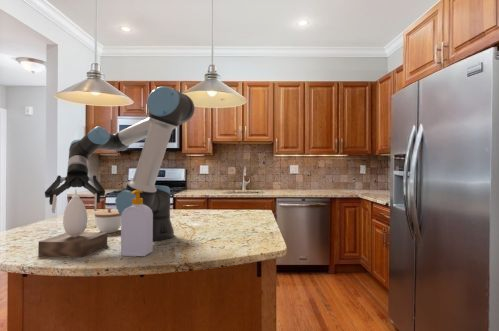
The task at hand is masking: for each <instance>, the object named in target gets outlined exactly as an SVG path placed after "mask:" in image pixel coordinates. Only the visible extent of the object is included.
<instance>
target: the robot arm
mask: <svg viewBox="0 0 499 331" xmlns="http://www.w3.org/2000/svg"><path fill="white" fill-rule="evenodd" d="M146 106H147V109H148V111H149V114H148V117H147V118H145V119H143V120H141V121H139V122H136V123H134V124H133V125H130V126H128V127H127V128H123V129H122V130H119V131H118V132H115V133H110V132H109V131H108V130H107V129H106V128H105V127H104V128H103V126H95V127H94V128H92V129H91V130H90V131H88V132H87V133H86V134H85V135H84V136H83V137H82V138H81V139H80V138H77V139H75V140H72V141H71V143H70V146H69V149H68V161H67V169H66V170H67V172H66V176H65V177H62V176H61V175H57V176H56V180H55V181H53V183H51V185H50V186H49V187H47V189H46V190H45V191H44V197H45V198H46V199H47V198H49V201H48V202H49V205H51V212H52V214H55V213H56V208H57V207H56V206H57V197H58V196H60V195H61V194H62V193H63V192H65V191H66V190H69V189H70V188H82V187H83V188H84V189H86V190H87V191H89V192H90V193H91V194H93V195H94V202H93V203H94V205H93V206H94V211H95V212H96V211H97V212H98V210H97V207H98V206H97V204H99V203H101V197H104V196H105V195H106V191H105V189H104V187H103V185H102V184H101V183H100V182H99V181H98V179H97V176H96V175H93V176H90V177H89V163H90V162H89V159H90V157H91V156H92V155H93V154H94V153H96V152H97V151H98V150H106V151H115V152H120V151H121V152H124V151H126V150H128V148H129V146H131V145H133V144H134V143H137V142H140V141H141V140H144V139H145V140H144V143H143V147H142V150H141V153H140V156H139V160H138V163H137V166H136V168H135V172H134V175H133V178H132V179H131V180H129V181H127V184H126V186H125V189H124V190H122V191H120V192H119V193H118V194H117V196H116V198H115V209H116V211H118V212H119V214H120V215H122V212H123V211H124V210H125V209H126V208H128V207H130V206H132V199H133V198H136V193H134V194H131V193H132V191H135V190H140V191H142V193H140V198H143V205H146V206H148V207H150V209H151V210H152V213H153V241H162V240H168V239H172V238H173V237H175V233H174V232H175V231H174V227H173V224H172V221H171V196H172V195H171V189H170V187H169V186H168V185H158V184H157V185H156V182H157V179H158V176H159V172H160V169H161V166H162V164H163V163H162V162H163V160H164V156H165V154H166V150H167V148H168V145H169V141H170V140H171V139H170V138H171V135H172V132H173V131H174V130H175V129H176V128H178V127H179V126H181V125H183V124H185V123H186V122H189V121H190V120H191V119H192V118H193V116H194V113H195V104H194V101H193V100H192V98H191V97H190V96H188V95H187V94H184V93H182V92H181V91H178V90H176V89H174V88H173V87H169V86H158V87H156V88H154V89H153V90H152V91H151V92H150V93H149V95H148V97H147V99H146ZM63 182H64V183H63ZM90 182H91V183H92V184H93V185H94V186H93V185H92V184H91V183H90ZM62 183H63V184H62Z"/></svg>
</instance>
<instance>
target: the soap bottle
mask: <svg viewBox="0 0 499 331" xmlns="http://www.w3.org/2000/svg"><path fill="white" fill-rule="evenodd" d="M134 193H136V198H133V199H132V206H130V207H128V208H126V209H125V210H124V211H123V212H122V215H121V226H120V255H121V256H122V257H136V256H144V257H146V256H147V255H149V254H150V253H152V252H153V250H154V249H153V247H154V246H153V245H154V244H153V241H154V240H153V213H152V210H151V209H150V207H148V206H146V205H143V198H140V193H142V191H140V190H135V191H132V193H131V194H134Z"/></svg>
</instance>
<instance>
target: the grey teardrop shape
mask: <svg viewBox="0 0 499 331" xmlns="http://www.w3.org/2000/svg"><path fill="white" fill-rule="evenodd" d="M77 194H78V193H77V188H75V190H74V195H72V196H71V198H70V200H69V201H68V203H67V205H66V207H65V209H64V213H63V220H62V221H63V222H62V224H63V229H64V231H65V233H67V234H69V235H70V236H72V237H78V236H80V235H81V233H83V232H85V231H86V229H87V224H88V212H87V208H86V206H85V203H84V202H83V200H82V198H80V197H81V196H80V195H77Z"/></svg>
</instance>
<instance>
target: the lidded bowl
mask: <svg viewBox="0 0 499 331" xmlns="http://www.w3.org/2000/svg"><path fill="white" fill-rule="evenodd" d="M94 223H95V226H96V229H97V230H99V231H100V233H107V234H110V233H116V232H118V230H119V229H121V215H120V214H119V212H118V210H111V208H107V210H105V211H97V212H94Z"/></svg>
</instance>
